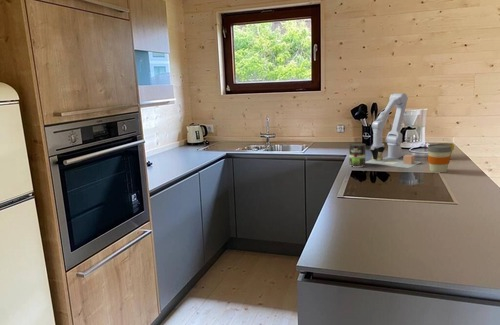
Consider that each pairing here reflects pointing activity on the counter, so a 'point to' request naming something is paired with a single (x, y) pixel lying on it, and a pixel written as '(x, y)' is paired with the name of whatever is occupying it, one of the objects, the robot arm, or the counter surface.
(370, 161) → the pale blue flat sheet
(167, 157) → the counter surface
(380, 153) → the maple block
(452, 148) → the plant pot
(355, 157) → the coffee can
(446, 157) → the reusable coffee cup
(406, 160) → the terracotta block
